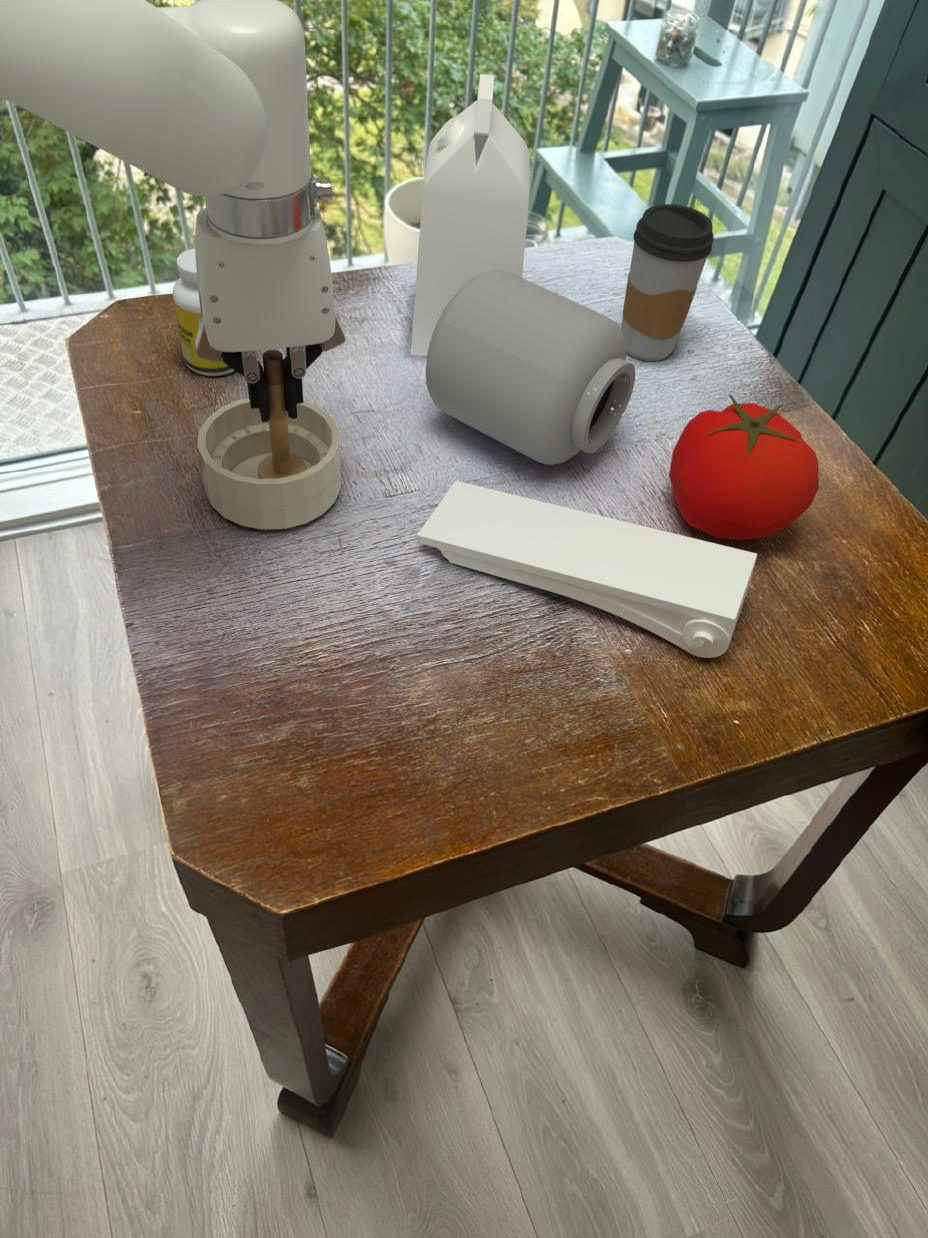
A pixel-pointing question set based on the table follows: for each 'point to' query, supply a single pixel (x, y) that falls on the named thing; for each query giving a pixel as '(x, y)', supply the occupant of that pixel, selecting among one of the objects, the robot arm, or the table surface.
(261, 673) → the table surface
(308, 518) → the bowl
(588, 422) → the jar
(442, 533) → the wall bracket
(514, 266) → the milk
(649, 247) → the coffee cup
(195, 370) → the pill bottle
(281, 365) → the stirrer
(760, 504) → the tomato
